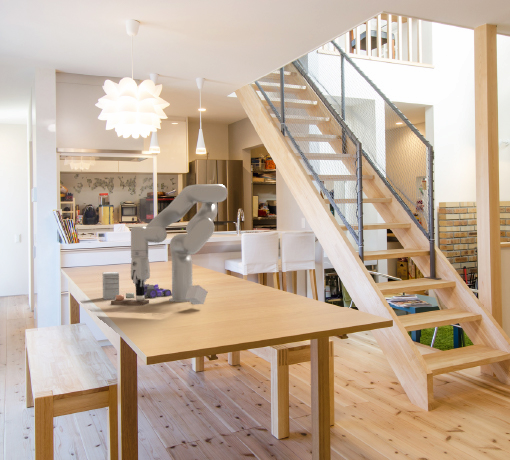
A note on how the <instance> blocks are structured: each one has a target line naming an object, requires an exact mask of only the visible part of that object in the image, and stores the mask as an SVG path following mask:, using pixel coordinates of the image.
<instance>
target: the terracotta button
mask: <svg viewBox="0 0 510 460" xmlns="http://www.w3.org/2000/svg"><path fill="white" fill-rule="evenodd" d="M124 299H125V295H124V294H119V295H116V299H115V300H124Z"/></svg>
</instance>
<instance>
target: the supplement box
mask: <svg viewBox="0 0 510 460" xmlns="http://www.w3.org/2000/svg"><path fill="white" fill-rule="evenodd" d="M116 295H120V273H119V272H117V271H108V272H107V271H106V272H102V298H103V300H104V301H105V300H116Z"/></svg>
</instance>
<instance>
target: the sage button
mask: <svg viewBox="0 0 510 460" xmlns="http://www.w3.org/2000/svg"><path fill="white" fill-rule="evenodd" d="M125 299H135V292H126V293H125Z"/></svg>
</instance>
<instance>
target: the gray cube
mask: <svg viewBox="0 0 510 460" xmlns="http://www.w3.org/2000/svg"><path fill="white" fill-rule="evenodd" d="M207 295H208V291H207V290H206V289H205V288H203V287H202V286H200V285H199V284H197V285H195V284H194V285H192V286H189V288H188V291H187V294H186V297H185V299H187V300H188V302H190V303H191V304H192V305H204V303H205V301H206V297H207Z"/></svg>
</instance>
